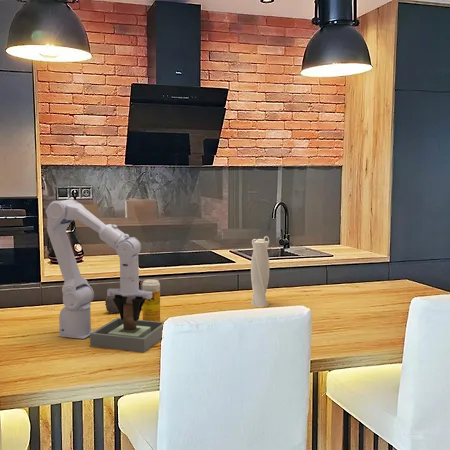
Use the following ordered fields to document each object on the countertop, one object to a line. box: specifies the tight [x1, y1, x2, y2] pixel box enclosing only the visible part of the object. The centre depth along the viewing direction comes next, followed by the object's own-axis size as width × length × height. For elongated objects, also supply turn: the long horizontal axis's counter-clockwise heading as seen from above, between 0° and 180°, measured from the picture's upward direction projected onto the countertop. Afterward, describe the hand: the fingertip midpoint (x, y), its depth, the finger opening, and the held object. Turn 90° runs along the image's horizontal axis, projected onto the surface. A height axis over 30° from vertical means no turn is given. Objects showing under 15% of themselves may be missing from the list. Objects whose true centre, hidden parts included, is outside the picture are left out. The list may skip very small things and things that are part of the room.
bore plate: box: [108, 324, 151, 338], centre depth 174 cm, size 10×10×2 cm
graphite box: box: [89, 317, 165, 353], centre depth 174 cm, size 18×18×4 cm
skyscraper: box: [250, 235, 271, 308], centre depth 216 cm, size 8×8×28 cm
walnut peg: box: [123, 302, 136, 331], centre depth 173 cm, size 4×4×8 cm
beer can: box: [141, 279, 161, 322], centre depth 192 cm, size 6×6×15 cm
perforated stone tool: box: [104, 295, 135, 314], centre depth 207 cm, size 15×5×7 cm, turn 115°
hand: (129, 319), depth 174 cm, fingers closed on walnut peg, 4 cm apart
